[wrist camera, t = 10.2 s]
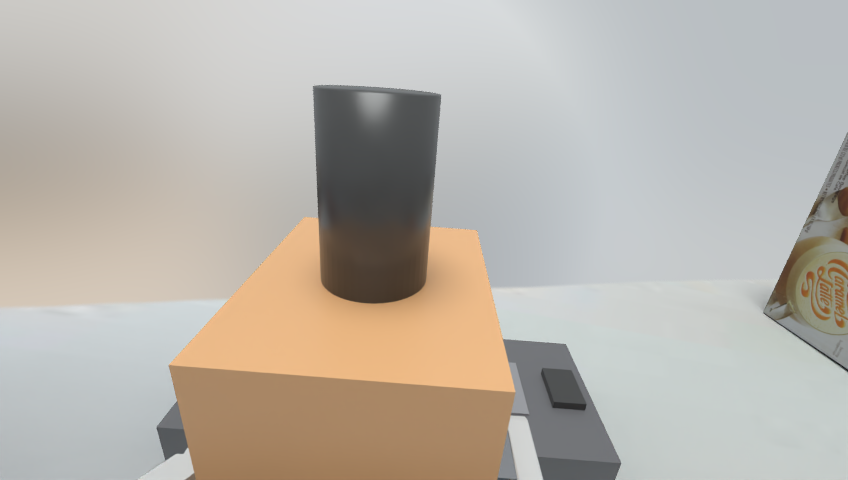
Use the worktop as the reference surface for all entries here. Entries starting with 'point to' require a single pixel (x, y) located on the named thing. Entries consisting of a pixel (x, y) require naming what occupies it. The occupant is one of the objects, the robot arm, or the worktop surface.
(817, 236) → the coffee box
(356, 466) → the plug
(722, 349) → the worktop surface
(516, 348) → the power strip
